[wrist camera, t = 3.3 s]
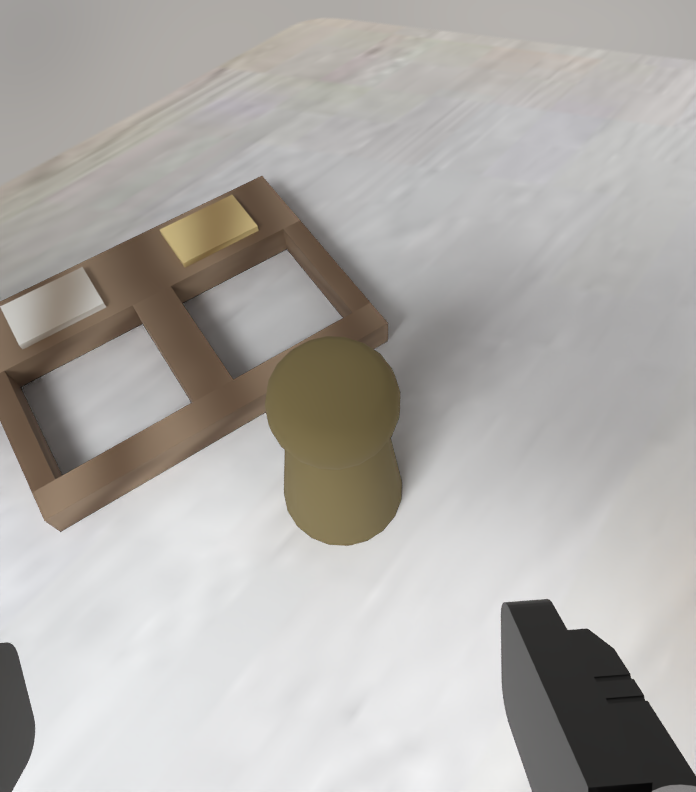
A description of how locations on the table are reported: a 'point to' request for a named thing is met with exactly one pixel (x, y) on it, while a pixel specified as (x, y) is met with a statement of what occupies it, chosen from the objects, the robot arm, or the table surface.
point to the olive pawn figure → (337, 438)
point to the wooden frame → (159, 338)
